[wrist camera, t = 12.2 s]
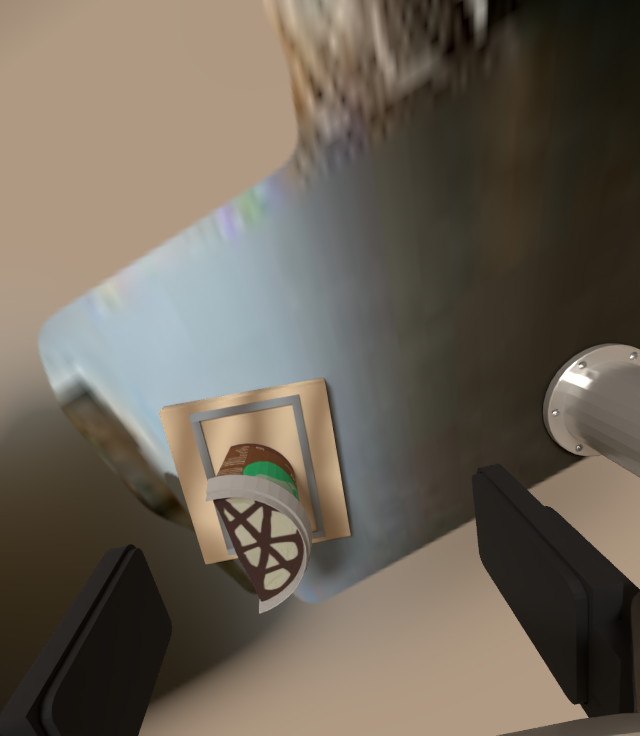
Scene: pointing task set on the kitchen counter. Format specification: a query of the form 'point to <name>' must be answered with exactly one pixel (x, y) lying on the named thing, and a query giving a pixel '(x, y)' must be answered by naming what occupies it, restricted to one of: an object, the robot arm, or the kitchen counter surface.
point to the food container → (263, 519)
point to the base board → (265, 427)
